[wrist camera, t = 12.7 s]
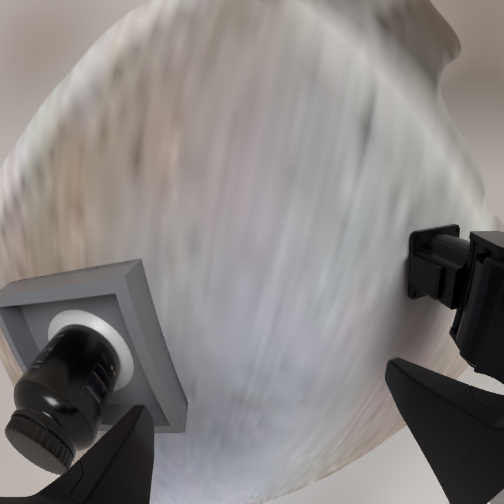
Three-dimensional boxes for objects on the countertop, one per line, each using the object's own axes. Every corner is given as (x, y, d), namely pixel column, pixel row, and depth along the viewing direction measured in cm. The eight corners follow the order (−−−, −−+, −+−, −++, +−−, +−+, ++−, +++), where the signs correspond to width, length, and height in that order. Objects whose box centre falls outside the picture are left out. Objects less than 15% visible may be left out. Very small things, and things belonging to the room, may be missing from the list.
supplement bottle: (69, 377, 21) (21, 465, 10) (49, 317, 19) (-26, 400, 8) (130, 386, 22) (97, 493, 10) (114, 324, 20) (51, 435, 8)
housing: (141, 258, 20) (124, 276, 16) (187, 402, 24) (184, 432, 20) (12, 281, 19) (-12, 297, 15) (68, 401, 23) (56, 424, 19)
